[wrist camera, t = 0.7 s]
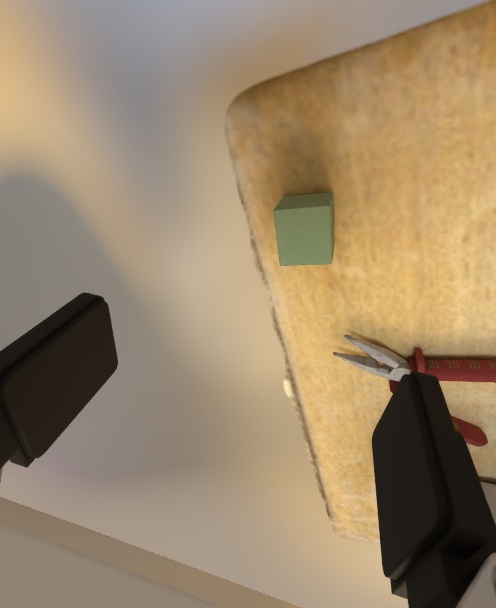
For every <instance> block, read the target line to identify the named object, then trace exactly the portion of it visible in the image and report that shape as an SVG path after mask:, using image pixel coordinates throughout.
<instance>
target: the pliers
mask: <svg viewBox="0 0 496 608" xmlns="http://www.w3.org/2000/svg"><path fill="white" fill-rule="evenodd" d="M345 337H346V338H347V339H348V340H350V341H351V342H352V343H354V344H355V345H357V346H358V347H359V348H361V349H362V350H363V351H365V352H366V353H367V354H369V355H370V356H371V357H373V358H374V359H373V358H369V357H364V356H357V355H350V354H343V353H337V352H333V355H335V356H337V357H339V358H341V359H343V360H345V361H347V362H349V363H351V364H353V365H355V366H357V367H359V368H361V369H363V370H365V371H367V372H369V373H372V374H374V375H377V376H380V377H383V378H387V379H390V380H389V384H390V391H391V392H392V393H394V391H395V389H396V387H397V385H398V383H399V381H400V379H401V377H402V376H403V375H404V374H408V375H409V374H410V373H411V372H412V371H418V372H422V373H426V374H431V375H435V376H436V377H437V379H438V381H467V382H495V383H496V360H446V359H424V357H423V353H422V350H421V349H414V357H408V361H406V360H405V359H403V358H401V357H400V356H398V355H396V354H395V353H393V352H391V351H389V350H388V349H386V348H383V347H380V346H377V345H375V344H372V343H369V342H366V341H363V340H360V339H358V338H355V337H352V336H349V335H346V334H345ZM377 361H379V362H380V363H385V364H386V365H380V364H378V363H377ZM451 419H452V421H453V424H454V427H455V430H457V431H459V432H460V433H461V434H462V435H463V437H464V439H465V442H467V443H470V444H472V445H475V446H484V445H486V444H487V443H488V440H487V437H486V435H485V433H484V432H483V431H482V430H481V429H480V428H478V427H477V426H475V425H472V424H470V423H467V422H464V421H462V420H459V419H456V418H454V417H452V416H451Z"/></svg>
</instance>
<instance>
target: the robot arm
mask: <svg viewBox="0 0 496 608" xmlns="http://www.w3.org/2000/svg"><path fill="white" fill-rule="evenodd" d="M117 365H118V360H117V353H116V347H115V342H114V336H113V331H112V324H111V319H110V313H109V307H108V304H107V303H106V302H105V301H104V298H103V297H101V296H98V295H94V294H90V293H82V294H80V295H78V296H77V297H76V298H74V299H73V300H71V301H70V302H69V303H67V304H66V305H64V306H63V307H62V308H60V309H59V310H57V311H56V312H55V313H53V314H52V315H51V316H49V317H48V318H46V319H45V320H43V321H42V322H41V323H39V324H38V325H36V326H35V327H34V328H32V329H31V330H29V331H28V332H27V333H25V334H24V335H22V336H21V337H20V338H18V339H17V340H15V341H14V342H13V343H11V344H10V345H8V346H7V347H6V348H5V349H3V350H2V351H0V481H1V473H2V467H3V466H4V465H5V463H6V462H7V461H8V460H9V459H10V461H11V462H12V463H15V464H18V465H21V466H24V467H28V466H29V465H30V464H31V463H32V462H33V460H34V459H35V458H39V457H40V456H42V455H43V454H44V453H45V452H46V451H47V450H48V449H49V447H50V446H51V445H52V444H53V443H54V442H55V440H56V439H57V438H58V437H59V436H60V435H61V433H62V432H63V431H64V430H65V429H66V428H67V427H68V425H69V424H70V423H71V422H72V421H73V419H74V418H75V417H76V416H77V415H78V414H79V413H80V411H81V410H82V409H83V408H84V407H85V406H86V404H87V403H88V402H89V401H90V400H91V399H92V397H93V396H94V395H95V394H96V393H97V392H98V390H99V389H100V388H101V387H102V386H103V385H104V383H105V382H106V381H107V380H108V379H109V378H110V376H111V375H112V374H113V373H114V372H115V370H116V368H117ZM372 449H373V461H374V473H375V484H376V496H377V508H378V520H379V532H380V543H381V555H382V566H383V571H384V575H385V576H386V577H388V578H390V580H391V590H392V594H394V595H397V596H400V597H403V598H406V599H408V604H409V608H496V524H495V521H494V518H493V516H492V513H491V510H490V507H489V505H488V502H487V499H486V497H485V494H484V491H483V488H482V486H481V483H480V480H479V477H478V475H477V472H476V469H475V466H474V464H473V461H472V458H471V455H470V453H469V450H468V447H467V444H466V442H465V439H464V437H463V435H462V434H461V433H460V432H459V431H457V430H455V427H454V424H453V421H452V419H451V416H450V413H449V410H448V407H447V404H446V401H445V398H444V395H443V393H442V390H441V387H440V384H439V381H438V379H437V377H436V376H435V375H431V374H426V373H422V372H418V371H412V372H411V373H410V374H409V375H408V374H404V375H403V376H402V377H401V379H400V381H399V383H398V385H397V387H396V389H395V391H394V393H393V395H392V397H391V399H390V401H389V403H388V405H387V407H386V409H385V410H384V412H383V414H382V416H381V418H380V420H379V422H378V424H377V426H376V428H375V430H374V432H373V437H372ZM0 608H300V607H297V606H294V605H292V604H289V603H286V602H284V601H281V600H279V599H276V598H273V597H271V596H268V595H265V594H263V593H260V592H257V591H254V590H252V589H249V588H246V587H243V586H241V585H238V584H236V583H233V582H230V581H228V580H225V579H222V578H219V577H217V576H214V575H212V574H209V573H206V572H203V571H201V570H198V569H196V568H193V567H190V566H187V565H185V564H182V563H179V562H177V561H174V560H171V559H168V558H166V557H163V556H160V555H158V554H155V553H152V552H149V551H147V550H144V549H141V548H139V547H136V546H133V545H130V544H128V543H125V542H122V541H119V540H117V539H114V538H111V537H109V536H106V535H103V534H100V533H98V532H95V531H92V530H89V529H87V528H84V527H81V526H78V525H76V524H73V523H70V522H67V521H65V520H62V519H59V518H56V517H53V516H51V515H48V514H45V513H43V512H40V511H37V510H34V509H31V508H29V507H26V506H23V505H20V504H18V503H15V502H12V501H9V500H7V499H4V498H1V497H0Z"/></svg>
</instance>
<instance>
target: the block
mask: <svg viewBox="0 0 496 608" xmlns="http://www.w3.org/2000/svg"><path fill="white" fill-rule="evenodd" d="M274 218H275V226H276V235H277V243H278V252H279V261H280V266H291V265H321V264H332V259H333V251H334V210H333V192H325V193H315V194H305V195H295V196H285V197H283V198H282V199H281V201H280V202H279V204H278V205H277V206H276V208H275V209H274Z"/></svg>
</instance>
